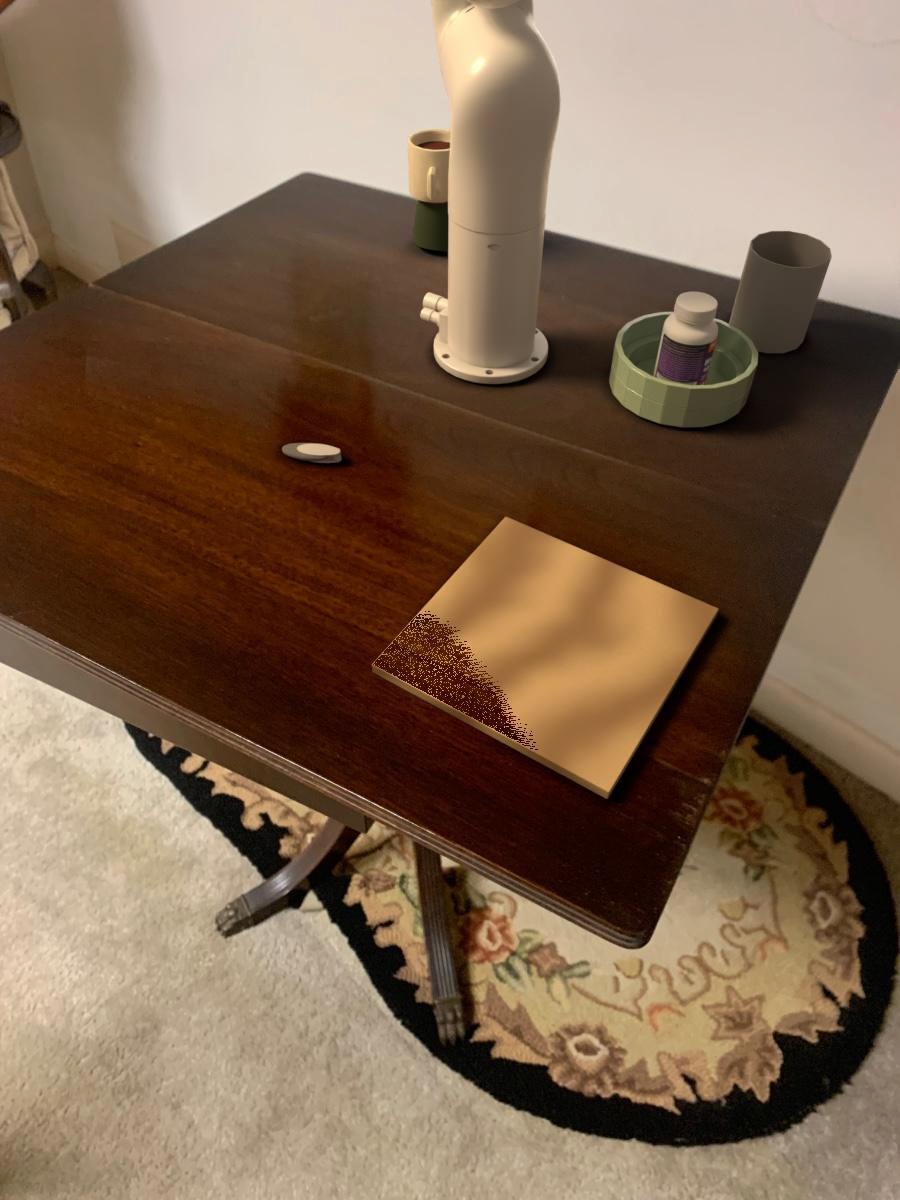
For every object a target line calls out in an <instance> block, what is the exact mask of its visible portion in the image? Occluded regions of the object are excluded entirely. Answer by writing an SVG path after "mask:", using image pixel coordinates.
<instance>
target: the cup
mask: <svg viewBox="0 0 900 1200" xmlns="http://www.w3.org/2000/svg"><path fill="white" fill-rule="evenodd" d="M832 258H833V256H832V251H831V248H830V246H828V245H827V244H826V243H825V242H824V241H822V240H821V239H818V238H816V237H814V236H811V235H810V234H806V233H802V232H797V231H792V230H770V231H766V232H761V233H758V234H757V235H756V236H754V237H753V238H752V239H751V240H750V242H749V246H748V249H747V254H746V257H745V261H744V265H743V268H742V272H741V276H740V280H739V284H738V288H737V292H736V295H735V299H734V302H733V306H732V310H731V314H730V318H729V322H728V324H730V325H732V326H734V327H736V328H737V329H739V330H741V331H742V332H743V333H744V334H745V335H746V336H747V337H748V338H750V339H751V340H752V342H753V344H754V346H755V348H756V349H757V351H758V353H759V352H760V353H764V354H785V353H788V352H791V351H794V350H797V349H798V348H799V347H800V346H801V345H802V344H803V342H804V341H805V337H806V334H807V331H808V328H809V326H810V322H811V319H812V316H813V313H814V311H815V308H816V304H817V301H818V299H819V296H820V293H821V290H822V287H823V284H824V281H825V277H826V275H827V273H828V270H829V267H830V263H831V260H832Z"/></svg>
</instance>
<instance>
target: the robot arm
mask: <svg viewBox="0 0 900 1200" xmlns="http://www.w3.org/2000/svg"><path fill="white" fill-rule="evenodd" d="M430 6H431V14H432V22H433V28H434V29H433V30H434V37H435V45H436V51H437V59H438V64H439V69H440V72H441V76H442V79H443V82H444V85H445V90H446V95H447V97H448V100H449V111H450V112H449V113H450V130H451V137H450V155H449V175H448V215H449V225H448V251H447V258H448V259H447V262H448V263H447V298H445V296H442V295H439V294H436V293H433V292H430V291H429V292H427V293H426V294H425V295H424V297H423V300H422V309H421V310H420V314H419V317H420V320H422V321H424V322H427V323H430V324H435V325H436V326H437V328H438V332H437V333H436V335H435V337H434V339H433V356H434V359H435V361H436V363H437V364H438V365H439V367H440V368H442V369H443V370H444V371H446V373H448V374H450V375H452V376H453V377H456V378H458V379H461V380H463V381H467V382H471V383H476V384H481V385H482V384H484V385H502V384H511V383H515V382H519V381H522V380H525V379H527V378H530V377H531V376H533V375H534V374H536V373H538V371H540V370H541V369H542V368H543V367H544V365H545V364H546V362H547V359H548V356H549V355H548V354H549V343H548V340H547V338H546V336H545V335H544V334H543V332H541V330H539V329H538V328H537V320H538V307H539V298H540V285H541V275H542V263H543V262H542V261H543V252H544V251H543V250H544V237H545V230H546V229H545V227H546V215H547V214H546V212H547V201H548V189H549V181H550V171H551V165H552V159H553V153H554V148H555V144H556V139H557V134H558V129H559V124H560V117H561V108H562V88H561V87H562V86H561V79H560V74H559V69H558V66H557V63H556V60H555V57H554V55H553V53H552V51H551V49H550V47H549V45H548V44H547V42H546V40H545V39H544V37H543V36H542V34H541V32H540V31H539V29H538V28H537V26H536V17H535V1H534V0H430Z"/></svg>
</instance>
